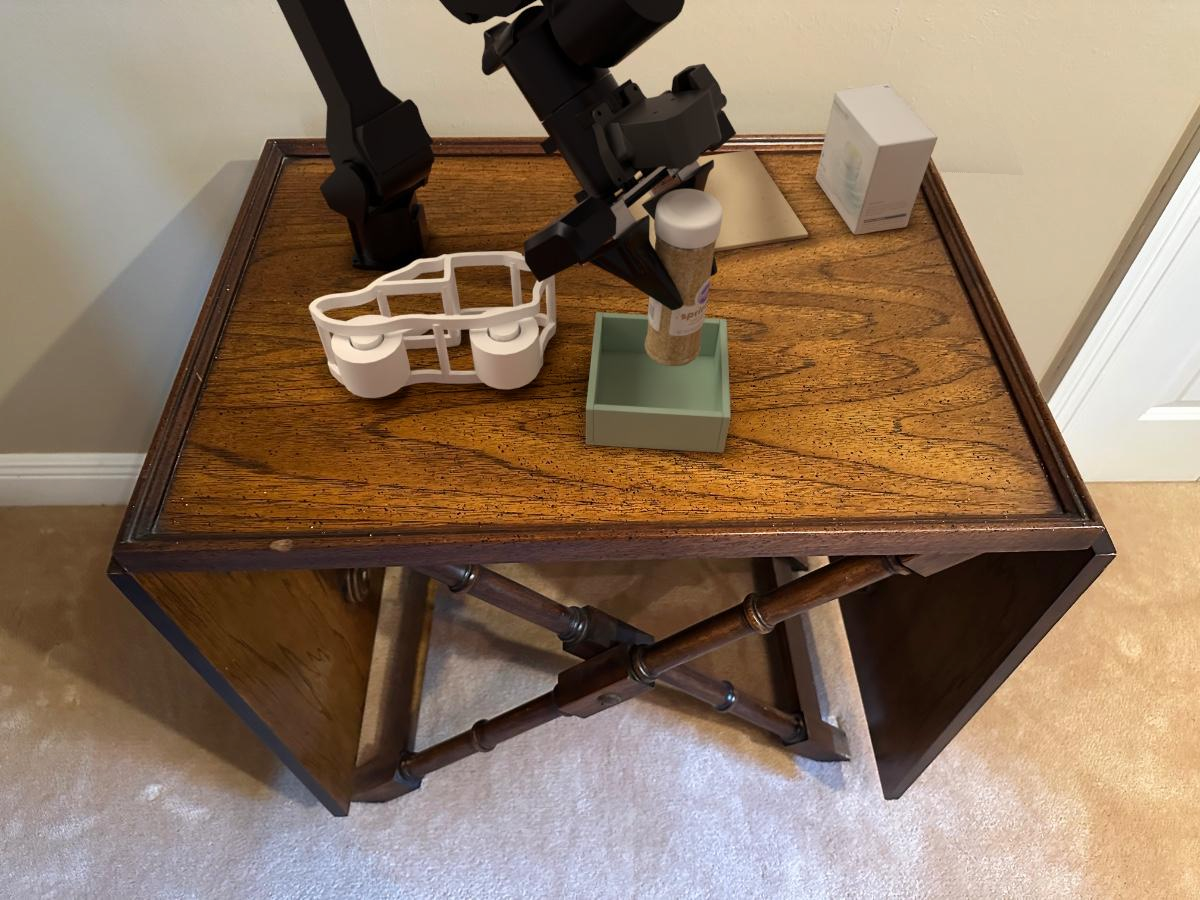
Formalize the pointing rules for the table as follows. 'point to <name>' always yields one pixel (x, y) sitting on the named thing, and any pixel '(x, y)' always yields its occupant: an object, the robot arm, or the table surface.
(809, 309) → the table surface
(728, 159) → the mat
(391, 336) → the car outline toy
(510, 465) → the table surface
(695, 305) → the sprinkles bottle
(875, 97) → the cosmetics box
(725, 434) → the bin
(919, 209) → the table surface
